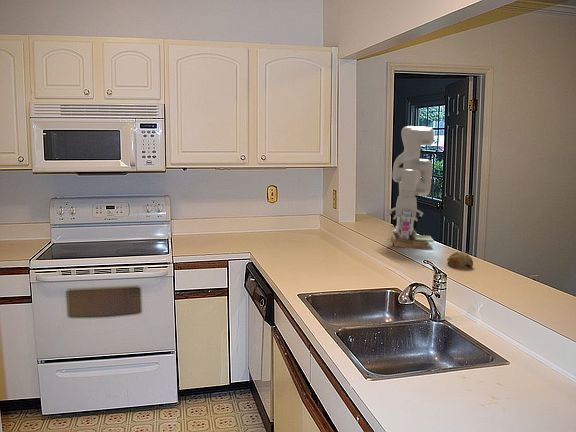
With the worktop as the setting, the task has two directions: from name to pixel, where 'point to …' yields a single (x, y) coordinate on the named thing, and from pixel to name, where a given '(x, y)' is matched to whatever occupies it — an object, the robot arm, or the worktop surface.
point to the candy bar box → (404, 224)
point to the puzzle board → (409, 242)
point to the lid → (421, 237)
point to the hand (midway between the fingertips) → (404, 227)
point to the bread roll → (460, 260)
